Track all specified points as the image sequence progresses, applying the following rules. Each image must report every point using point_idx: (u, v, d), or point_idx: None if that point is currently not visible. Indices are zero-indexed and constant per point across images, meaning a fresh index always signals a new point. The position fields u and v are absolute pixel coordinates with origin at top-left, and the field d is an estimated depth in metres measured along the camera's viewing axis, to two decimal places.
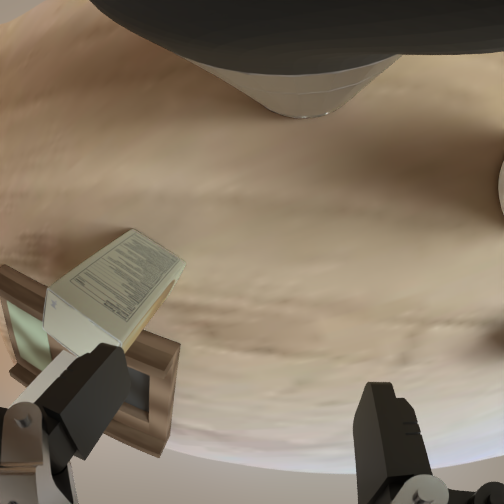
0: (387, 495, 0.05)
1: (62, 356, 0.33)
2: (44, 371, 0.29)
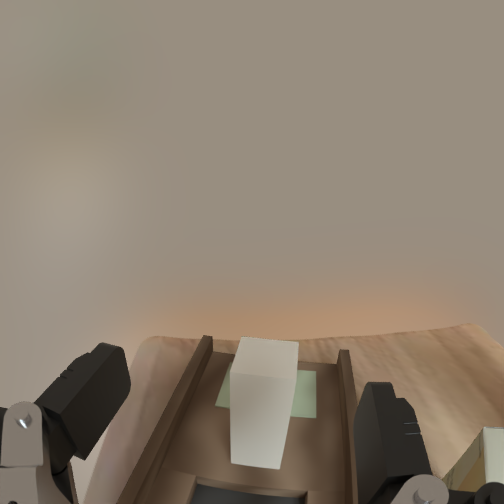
0: (387, 495, 0.05)
1: None
2: None
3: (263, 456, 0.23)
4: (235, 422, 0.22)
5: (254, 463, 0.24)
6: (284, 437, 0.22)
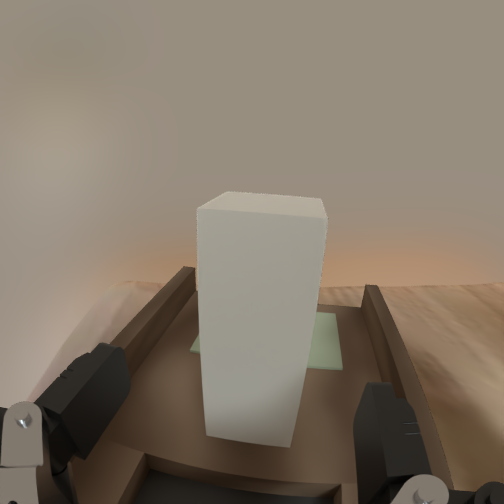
0: (387, 495, 0.05)
1: None
2: None
3: (262, 421, 0.14)
4: (209, 341, 0.13)
5: (246, 436, 0.14)
6: (302, 375, 0.12)
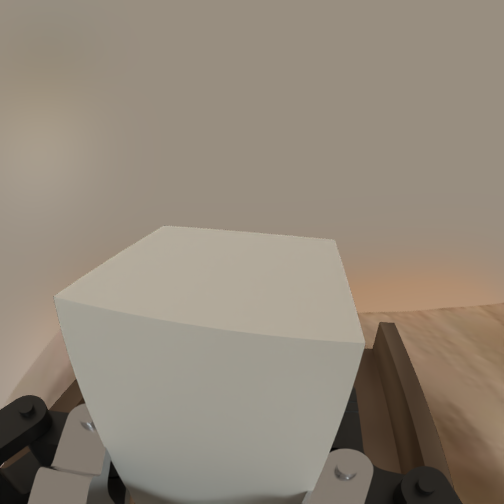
0: None
1: None
2: None
3: None
4: (136, 485, 0.06)
5: None
6: None
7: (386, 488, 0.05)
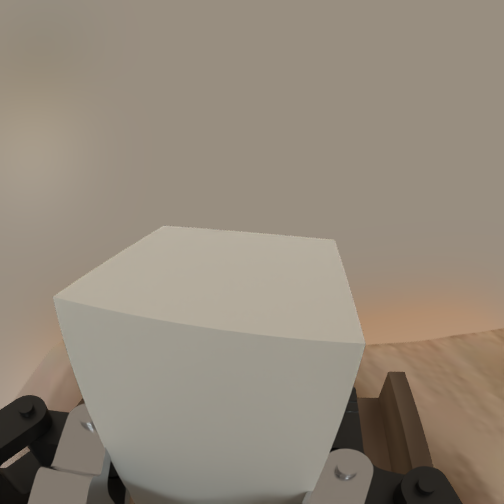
0: None
1: None
2: None
3: None
4: (135, 485, 0.06)
5: None
6: None
7: (386, 488, 0.05)
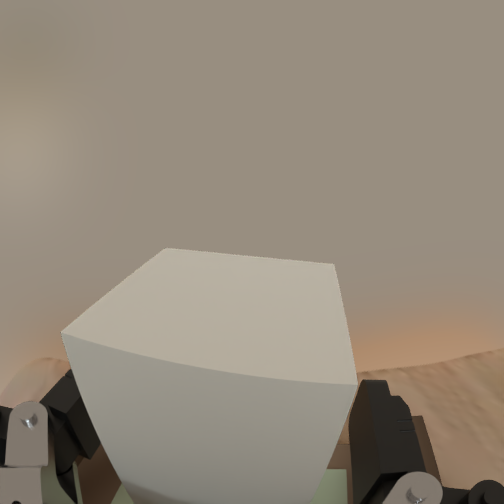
0: (381, 492, 0.05)
1: None
2: None
3: None
4: (141, 497, 0.06)
5: None
6: None
7: None
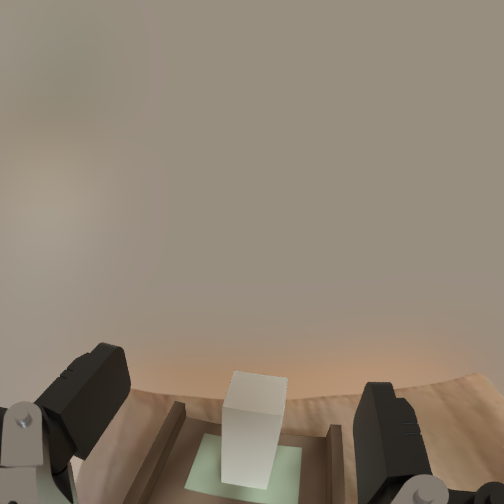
0: (387, 495, 0.05)
1: None
2: None
3: (251, 478, 0.24)
4: (226, 448, 0.23)
5: (243, 483, 0.24)
6: (271, 463, 0.22)
7: None
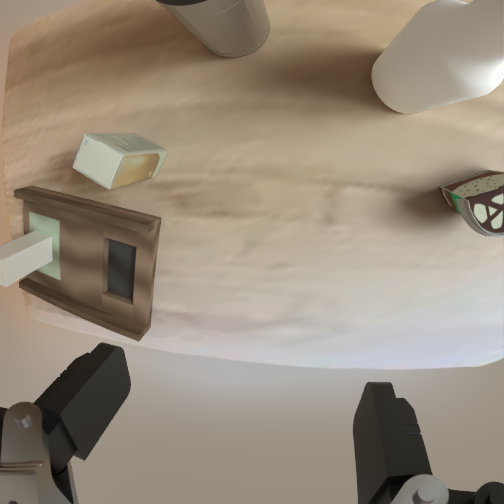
0: (387, 495, 0.05)
1: (33, 232, 0.45)
2: (18, 238, 0.41)
3: (44, 249, 0.44)
4: (27, 272, 0.41)
5: (50, 250, 0.46)
6: (31, 246, 0.40)
7: None
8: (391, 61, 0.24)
